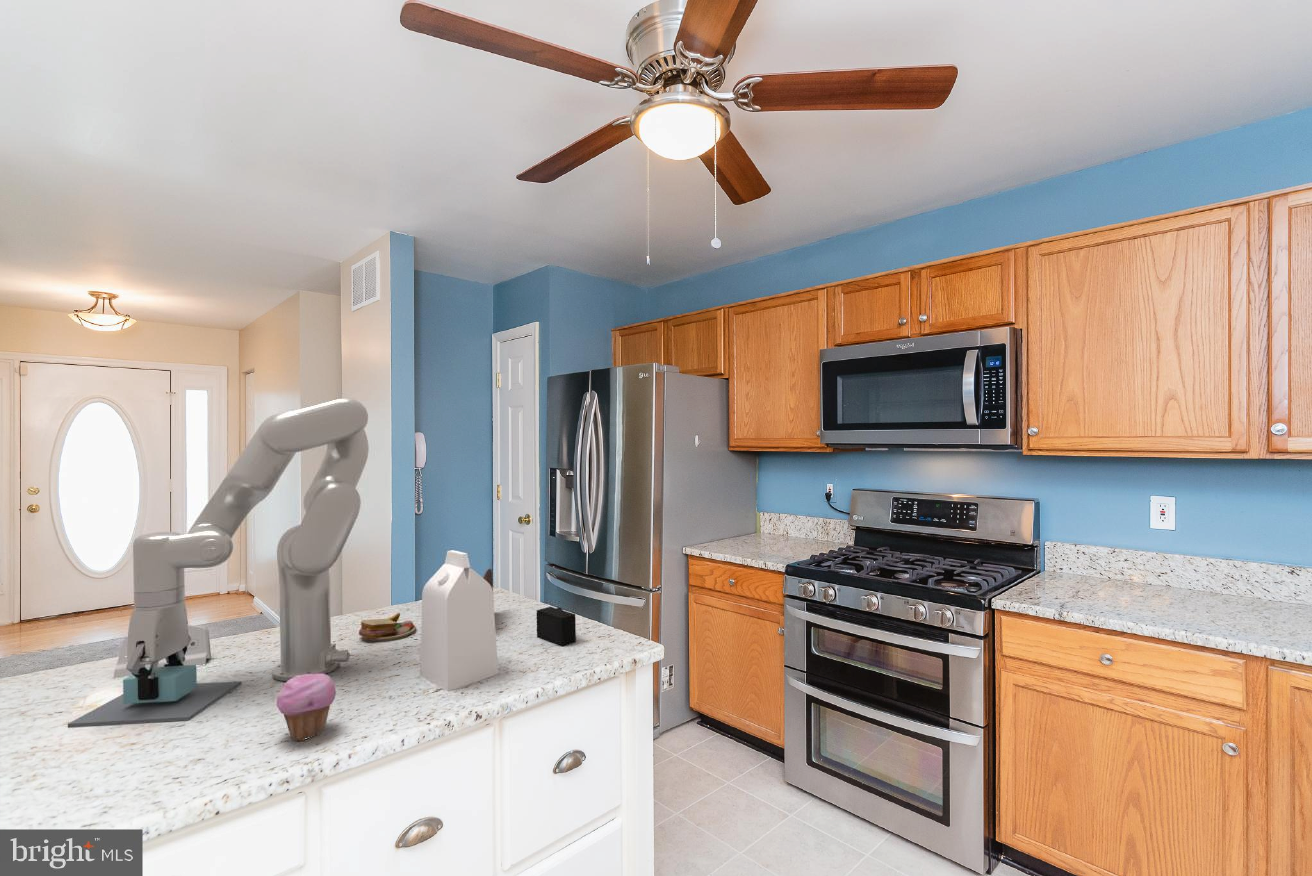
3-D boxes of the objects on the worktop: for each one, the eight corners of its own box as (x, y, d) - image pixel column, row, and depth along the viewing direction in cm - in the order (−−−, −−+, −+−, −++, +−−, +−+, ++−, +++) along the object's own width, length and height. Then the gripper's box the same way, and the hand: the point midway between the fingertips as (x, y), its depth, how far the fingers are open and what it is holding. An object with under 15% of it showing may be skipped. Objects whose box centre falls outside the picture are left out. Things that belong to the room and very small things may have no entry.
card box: (147, 690, 117) (147, 667, 117) (196, 687, 118) (196, 664, 118) (123, 703, 111) (123, 679, 111) (175, 701, 112) (175, 677, 112)
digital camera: (580, 641, 147) (579, 612, 147) (562, 647, 143) (562, 617, 143) (554, 632, 154) (554, 605, 154) (536, 637, 150) (536, 609, 150)
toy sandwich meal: (422, 635, 154) (422, 617, 153) (365, 647, 145) (364, 628, 145) (407, 624, 163) (407, 606, 163) (353, 635, 155) (353, 616, 155)
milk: (498, 674, 127) (496, 551, 127) (447, 691, 119) (445, 560, 119) (469, 660, 135) (467, 545, 135) (419, 675, 127) (417, 552, 127)
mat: (241, 684, 124) (241, 681, 124) (188, 720, 108) (188, 717, 108) (137, 689, 122) (137, 686, 122) (67, 727, 106) (67, 723, 106)
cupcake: (271, 734, 102) (270, 675, 102) (327, 717, 108) (326, 661, 108) (285, 753, 96) (284, 690, 96) (343, 733, 102) (342, 675, 102)
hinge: (111, 678, 128) (116, 630, 131) (119, 678, 132) (124, 631, 135) (207, 665, 135) (210, 619, 138) (212, 665, 139) (214, 620, 142)
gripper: (170, 587, 123) (172, 674, 123) (101, 611, 106) (103, 713, 106) (209, 585, 124) (211, 672, 124) (147, 609, 107) (149, 710, 107)
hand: (161, 690), depth 115 cm, fingers closed on card box, 6 cm apart
